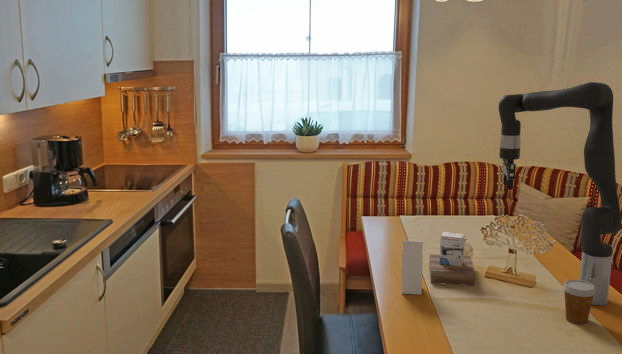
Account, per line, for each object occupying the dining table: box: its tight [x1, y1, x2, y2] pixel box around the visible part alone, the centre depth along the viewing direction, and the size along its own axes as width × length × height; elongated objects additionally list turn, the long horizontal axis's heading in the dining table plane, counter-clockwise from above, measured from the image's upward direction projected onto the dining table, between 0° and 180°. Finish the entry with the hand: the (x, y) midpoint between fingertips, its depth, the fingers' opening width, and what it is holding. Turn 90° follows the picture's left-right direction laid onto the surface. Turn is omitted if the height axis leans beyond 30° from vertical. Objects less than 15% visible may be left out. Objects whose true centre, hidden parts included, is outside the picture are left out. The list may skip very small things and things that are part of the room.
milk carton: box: [401, 240, 424, 296], centre depth 206 cm, size 7×7×19 cm
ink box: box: [439, 231, 465, 267], centre depth 219 cm, size 8×5×12 cm, turn 66°
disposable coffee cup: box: [562, 279, 596, 325], centre depth 182 cm, size 10×10×12 cm
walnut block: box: [429, 254, 476, 286], centre depth 221 cm, size 18×16×5 cm
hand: (507, 187), depth 223 cm, fingers open, 8 cm apart
